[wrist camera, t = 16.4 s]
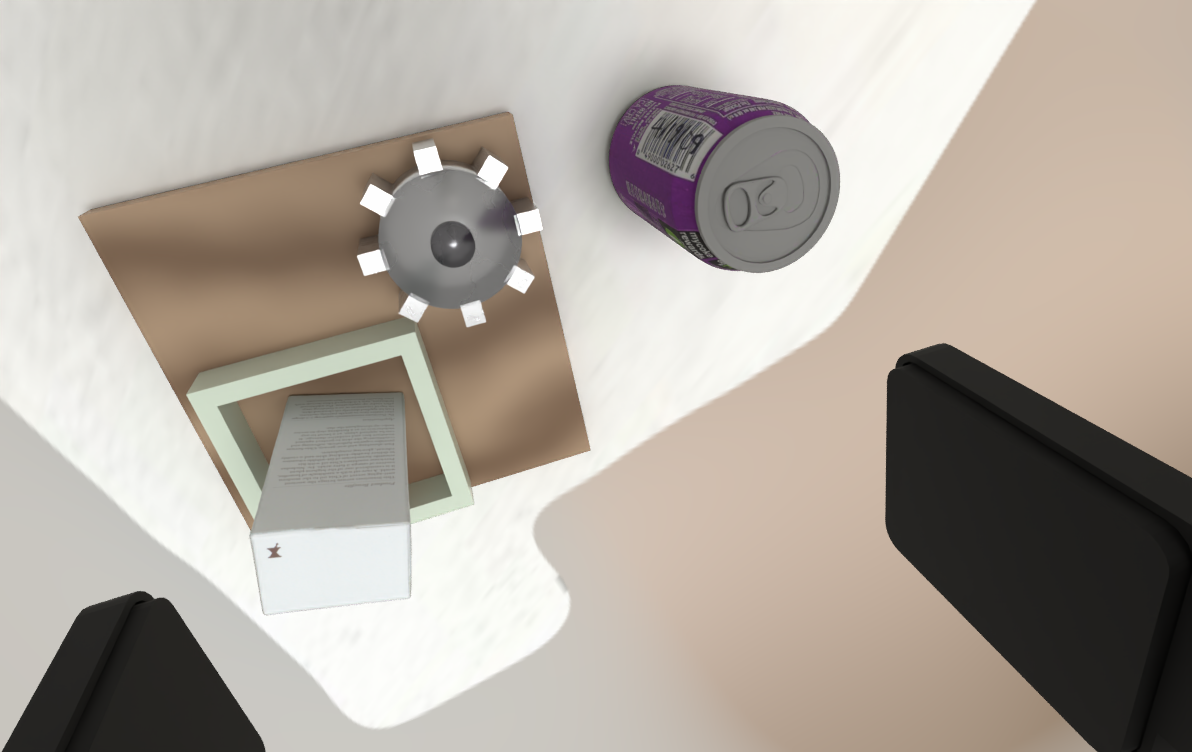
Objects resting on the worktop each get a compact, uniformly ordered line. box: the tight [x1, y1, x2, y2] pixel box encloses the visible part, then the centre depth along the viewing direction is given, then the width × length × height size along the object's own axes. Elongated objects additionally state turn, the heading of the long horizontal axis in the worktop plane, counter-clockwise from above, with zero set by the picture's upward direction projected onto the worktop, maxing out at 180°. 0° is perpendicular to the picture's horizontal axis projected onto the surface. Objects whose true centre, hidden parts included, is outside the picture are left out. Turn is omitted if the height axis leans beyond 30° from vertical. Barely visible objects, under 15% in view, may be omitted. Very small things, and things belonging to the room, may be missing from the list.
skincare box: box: [250, 392, 411, 615], centre depth 33 cm, size 6×4×12 cm
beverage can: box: [609, 85, 840, 273], centre depth 33 cm, size 7×7×12 cm
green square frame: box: [186, 317, 474, 524], centre depth 37 cm, size 11×11×2 cm
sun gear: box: [357, 138, 543, 327], centre depth 34 cm, size 9×9×4 cm
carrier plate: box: [78, 112, 590, 530], centre depth 38 cm, size 20×20×2 cm
